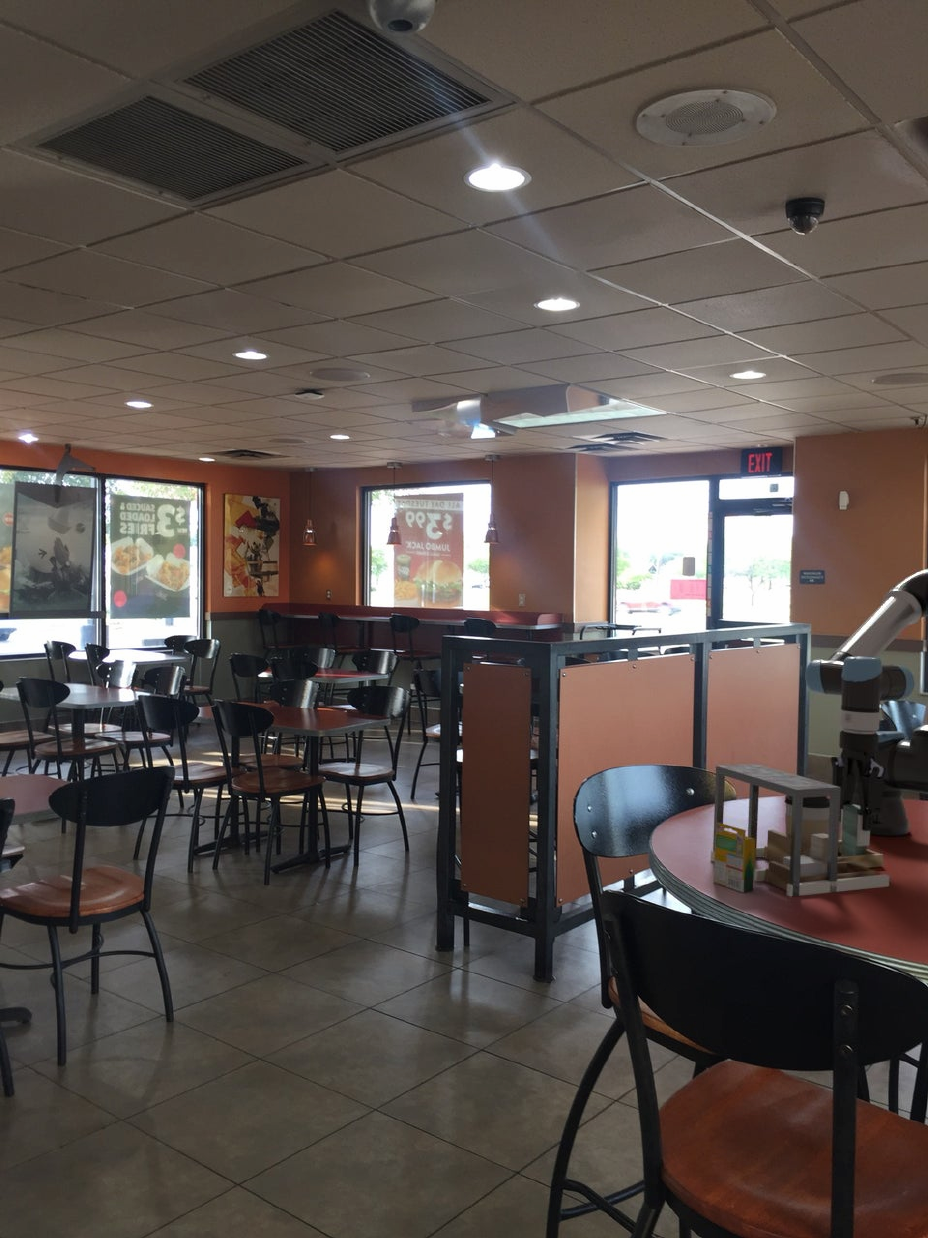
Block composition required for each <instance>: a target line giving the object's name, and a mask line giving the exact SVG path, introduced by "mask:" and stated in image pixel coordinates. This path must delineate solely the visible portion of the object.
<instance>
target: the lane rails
mask: <svg viewBox="0 0 928 1238" xmlns="http://www.w3.org/2000/svg"><path fill="white" fill-rule="evenodd" d="M764 846H765V845H764ZM764 846H757V847H756V849H755V853H756V855H755V857H763V856H764ZM755 857H754V859H756V858H755ZM763 858H764V857H763ZM710 861H711V862H715V851H713V850H710ZM850 862H851V861H850ZM765 870H766V868H760V869H754V881H755V882H764V881H765ZM765 882H766V881H765ZM834 883H835V884H834ZM834 883H833V884H832V883H831V882H830V881H827V880H823V881H813V882H803V883H800V885H798V886H800V887H799V890H798V891H799V894H798V893H797V895H799V896H801V897H802V896H810V895H819V894H827V893H828V894H829V893H836V892H837V893H839V892H846V891H856V890H867V889H874V888H875V889H877V888H886V887H889V886H890V875H889V874H885V873H884V874H877V875H874V876H864V877H854V878H844V879H837V881H835V882H834ZM831 884H832V885H831ZM793 886H796V885H791V884H787V891H786V896H788V897H796V896H795V895H794V896H792V895H793V889H794V888H795V887H794V888H793ZM798 886H797V887H798ZM831 886H833V889H836V891H835V890H834V891H835V892H833V891H832V892H830V890H831V889H832V888H831V889H830V887H831ZM834 886H835V887H836V886H837V888H834ZM833 889H832V890H833ZM795 890H796V889H795ZM799 896H798V897H799Z"/></svg>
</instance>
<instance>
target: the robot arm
mask: <svg viewBox="0 0 928 1238" xmlns="http://www.w3.org/2000/svg"><path fill="white" fill-rule="evenodd" d="M881 600H882V601H881V602H882V603H881V605H879V606H878V608H877V609H875V611H874V612H873V613H872V614H871V615H869V617H868V618H867V619H866V620H865V621H864V622H863V623H862V624H861V625H860V626H859V627H858V628H857V629H855V631H854V632H853V633H852V634H851V635H850V636H849V637H848V638H847V639H846V640H845V641H844V642H843V643H842V644H841V645H840V646H839V647H838V648H837V650H835V651H834V652H833V654H831V656H830V657H828V659H824V658H821V659H814V660H811V661H810V662H809V663H808V665H807V667H806V669H805V672H804V673H805V676H804V677H805V680H804V681H805V682H806V686H807V687H808V689H809V690H810V691H812V692H814V693H821V694H824V695H834V696H841V705H840V720H839V722H840V723H839V724H840V725H839V727H840V729H841V731H839V742H838V743H839V748H840V749H841V753H840V755H839V756H831V757H830V763H831V766H832V779H831V780H832V784H831V785H834V786H838V787H841V791H840V815H839V832H840V833H839V840H842V821H843V805H853V804H855V805H858V806H860V809H861V812H858V818H857V842H856V846H867V847H870V840H871V839H870V838H871V835H876V836H886V837H887V836H889V837H890V836H893V837H894V836H903V835H907V834H908V833H909V832H910V820H909V818H907V812H906V808H905V805H904V804H905V803H904V801H903V791H908V792H912V793H913V792H914V793H919V794H925V795H928V698H927V699H926V705H925V710H924V714H923V719H922V724H921V726H918V727H917V728H914V729H913V731H912V735H911V738H910V739H907V738H906V734H905V732H903V731H899V730H898V731H895V730H894V731H893V730H890V731H889V730H888V731H886V730H885V731H884V730H882V731H879V730H880V711H881V710H880V708H881V706H880V705H881V702H885V701H888V702H889V701H892V702H893V701H894V702H897V701H900V700H904V699H906V698H908V697H909V696H911V694H912V692H913V691H914V689H915V684H916V683H915V677H914V675H913V673H912V672H911V671H910V670H909V668H907V667H905V666H903V665H900V664H898V665H897V664H889V665H888V664H887V665H886V664H884V665H883V664H882V663H883V662H882V660H881V659H880V658H878V657H879V656H880V655H881V654H882V653H883V652H884V651H885V650H886V648H888V646H890V645H891V643H892V642H893V641H895V639H896V638H897V637H898V636H899V635H900V634H902V632H903V631H904V629H906V628H907V626H908V625H910V626H911V625H915V623H918V621H919V620H920V619H921V618H925V617H928V568H926V569H922V570H919V571H917V572H914V573H913V574H910V575H909V576H906V577H905V578H904V579H901V581H899V582H898V583H896V584H895V585H894V586H893V587H891V589H889V590H888V591H887V592H886V593H885V594H884V596H883V597H882V599H881ZM867 808H868V809H867Z"/></svg>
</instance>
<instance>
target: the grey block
mask: <svg viewBox="0 0 928 1238" xmlns="http://www.w3.org/2000/svg"><path fill="white" fill-rule="evenodd" d="M783 865H785V866H787V867H790V856H789V857H783ZM822 869H823V862H821V861H819V860H816V859H813V858H811V857H808V856H806V855H801V862H800V877H811V876H821V875H822Z"/></svg>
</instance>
